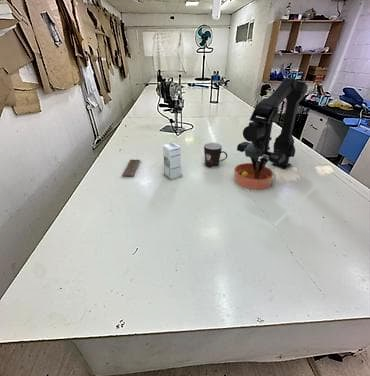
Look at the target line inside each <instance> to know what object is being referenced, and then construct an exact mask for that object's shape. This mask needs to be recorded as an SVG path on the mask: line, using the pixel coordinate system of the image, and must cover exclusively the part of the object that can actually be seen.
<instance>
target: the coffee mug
mask: <svg viewBox="0 0 370 376" xmlns="http://www.w3.org/2000/svg"><path fill="white" fill-rule="evenodd" d="M222 149H223V145H222V144H220V143H218V142H207V143H204V144H203V151H204V166H205V167H207V168H210V169H211V168H214V167H218V166H219V163H221V162H224V161H225V160H226V159H227V158H228V153H227V152H226V151H224V150H222ZM222 153H224V155H225V157H224V158H223V159H221V154H222Z"/></svg>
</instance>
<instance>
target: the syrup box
mask: <svg viewBox="0 0 370 376" xmlns="http://www.w3.org/2000/svg"><path fill="white" fill-rule="evenodd" d="M162 149H163V169H164V170H163V173H164V176H166V177H167V178H168V179H169V180H174V179H176V178H179V177H181V176H182V154H181V153H182V148H181V146H180V144H179V145H178V144H177V143H175V142H169V143H165V144H162Z"/></svg>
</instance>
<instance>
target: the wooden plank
mask: <svg viewBox="0 0 370 376" xmlns="http://www.w3.org/2000/svg"><path fill="white" fill-rule="evenodd" d="M140 162H141V159H132V158H131V159H130V160H129V161H128V164H127V166H126V168H125V169H124V170H123V173H122V176H123V177H134V176H135V174H136V171H137V169H138V166H139V164H140Z"/></svg>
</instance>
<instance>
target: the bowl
mask: <svg viewBox="0 0 370 376" xmlns="http://www.w3.org/2000/svg"><path fill="white" fill-rule="evenodd" d="M233 170H234V171H233V181H234V183H236V184H237V185H238V186H240V187H242V188H245V189H248V190H254V191H260V190H261V191H262V190H265V189H268V188H270V187H271V185H272V183H273V177H274V172H273V171H272V169H270V168H269V167H267V166H266V165H265V166H264V168H263V169H262V171H261V172H260V174H259V179H254V173H255V170H254V168H253V164H252V162H247V163H245V162H244V163H239V164H237V165H236V166H235V167H234V169H233ZM244 171H245V172H247V173H248V177H247V178H246V177H244V176H242V175H241V174H242V172H244Z"/></svg>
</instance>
